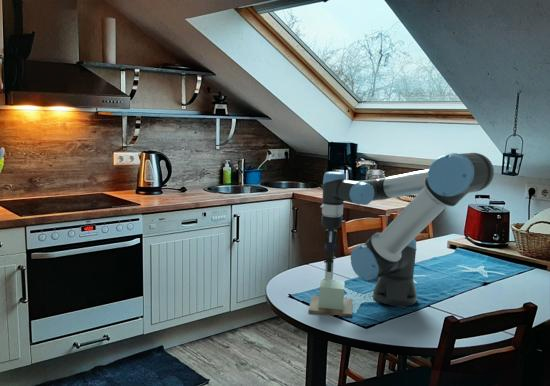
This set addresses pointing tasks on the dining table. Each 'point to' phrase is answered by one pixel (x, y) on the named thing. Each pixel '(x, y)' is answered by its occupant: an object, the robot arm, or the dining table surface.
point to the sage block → (331, 294)
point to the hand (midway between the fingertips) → (328, 278)
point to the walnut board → (326, 311)
